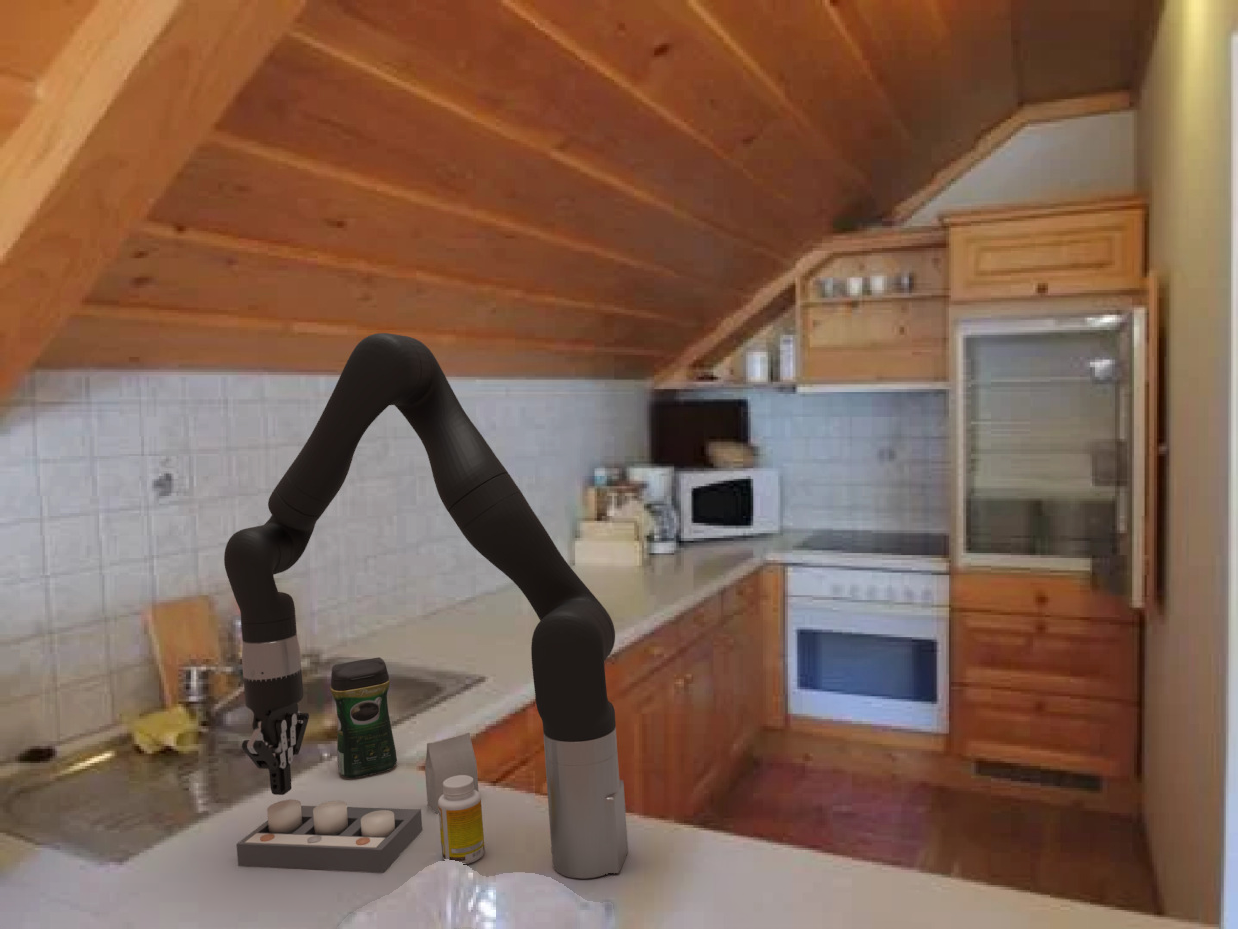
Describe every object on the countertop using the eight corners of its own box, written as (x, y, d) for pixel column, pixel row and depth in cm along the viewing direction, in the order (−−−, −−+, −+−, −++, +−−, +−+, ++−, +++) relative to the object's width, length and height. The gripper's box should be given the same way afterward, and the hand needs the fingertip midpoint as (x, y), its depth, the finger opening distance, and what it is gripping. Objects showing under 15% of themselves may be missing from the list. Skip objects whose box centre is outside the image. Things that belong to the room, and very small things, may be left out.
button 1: (308, 820, 127) (306, 800, 127) (291, 835, 123) (289, 813, 123) (280, 820, 128) (278, 799, 128) (262, 834, 124) (260, 812, 124)
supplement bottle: (493, 854, 119) (488, 778, 119) (459, 871, 115) (453, 793, 115) (467, 843, 123) (462, 769, 123) (433, 859, 119) (427, 783, 118)
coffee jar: (392, 756, 158) (384, 651, 157) (400, 771, 151) (392, 661, 150) (334, 768, 154) (326, 660, 153) (340, 783, 147) (331, 671, 146)
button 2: (401, 832, 124) (399, 810, 124) (386, 847, 120) (384, 825, 120) (371, 830, 125) (370, 809, 125) (356, 845, 121) (354, 824, 121)
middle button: (354, 822, 126) (352, 801, 126) (338, 837, 121) (336, 815, 121) (325, 821, 127) (323, 800, 127) (308, 836, 122) (306, 814, 122)
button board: (422, 830, 128) (420, 807, 128) (383, 872, 116) (381, 847, 116) (289, 825, 132) (287, 803, 132) (238, 866, 121) (236, 842, 120)
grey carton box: (479, 800, 137) (474, 736, 136) (437, 814, 133) (432, 747, 133) (468, 793, 140) (464, 730, 139) (427, 806, 136) (422, 741, 136)
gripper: (268, 684, 117) (278, 814, 118) (322, 656, 130) (331, 774, 131) (217, 683, 119) (227, 812, 120) (275, 656, 132) (284, 773, 133)
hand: (281, 792), depth 125 cm, fingers closed
